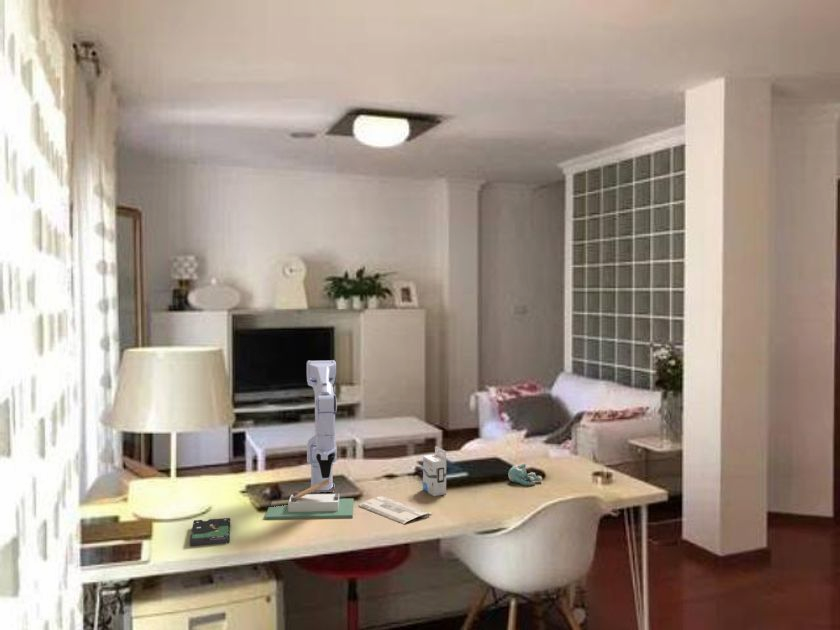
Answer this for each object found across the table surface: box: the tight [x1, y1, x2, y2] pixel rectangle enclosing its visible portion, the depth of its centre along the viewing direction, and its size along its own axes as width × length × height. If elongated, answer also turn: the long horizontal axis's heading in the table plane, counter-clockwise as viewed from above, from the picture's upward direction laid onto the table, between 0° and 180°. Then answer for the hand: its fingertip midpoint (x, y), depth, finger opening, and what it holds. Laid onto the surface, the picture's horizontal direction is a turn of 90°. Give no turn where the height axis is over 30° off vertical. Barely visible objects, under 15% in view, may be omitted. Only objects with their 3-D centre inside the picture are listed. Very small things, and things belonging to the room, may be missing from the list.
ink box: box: [422, 445, 447, 497], centre depth 231 cm, size 8×5×15 cm, turn 26°
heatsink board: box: [264, 491, 355, 520], centre depth 212 cm, size 16×26×5 cm, turn 94°
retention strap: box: [294, 478, 330, 499], centre depth 212 cm, size 4×12×1 cm, turn 94°
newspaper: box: [358, 495, 432, 525], centre depth 213 cm, size 23×12×2 cm, turn 43°
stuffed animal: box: [507, 463, 543, 486], centre depth 244 cm, size 11×7×12 cm
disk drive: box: [189, 517, 231, 548], centre depth 191 cm, size 10×3×15 cm
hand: (325, 477), depth 212 cm, fingers closed
